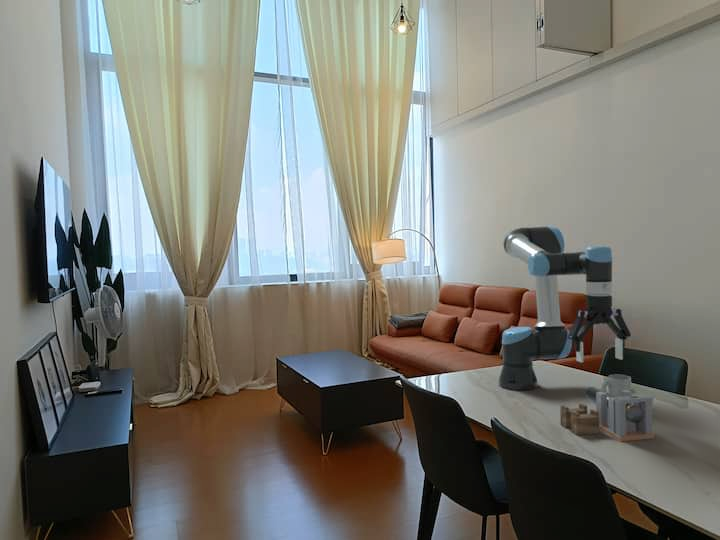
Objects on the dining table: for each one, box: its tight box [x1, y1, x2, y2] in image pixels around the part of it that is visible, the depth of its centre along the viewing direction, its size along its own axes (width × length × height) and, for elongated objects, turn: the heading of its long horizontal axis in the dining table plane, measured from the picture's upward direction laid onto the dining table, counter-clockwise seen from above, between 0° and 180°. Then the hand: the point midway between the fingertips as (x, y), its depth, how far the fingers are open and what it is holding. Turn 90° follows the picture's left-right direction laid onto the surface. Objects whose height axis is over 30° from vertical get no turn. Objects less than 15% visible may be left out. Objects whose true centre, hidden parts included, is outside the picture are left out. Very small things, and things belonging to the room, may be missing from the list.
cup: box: [600, 373, 632, 397], centre depth 179 cm, size 7×10×9 cm
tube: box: [585, 386, 644, 423], centre depth 155 cm, size 22×5×5 cm, turn 7°
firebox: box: [595, 390, 656, 442], centre depth 154 cm, size 19×11×12 cm, turn 7°
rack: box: [559, 402, 600, 436], centre depth 155 cm, size 9×7×6 cm
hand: (599, 360), depth 161 cm, fingers open, 13 cm apart
